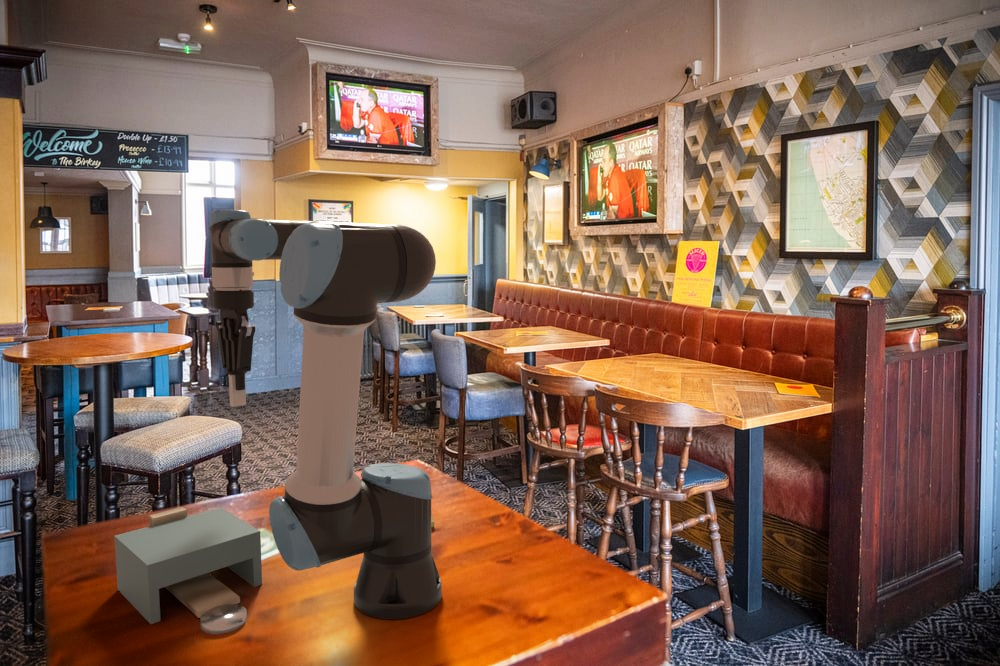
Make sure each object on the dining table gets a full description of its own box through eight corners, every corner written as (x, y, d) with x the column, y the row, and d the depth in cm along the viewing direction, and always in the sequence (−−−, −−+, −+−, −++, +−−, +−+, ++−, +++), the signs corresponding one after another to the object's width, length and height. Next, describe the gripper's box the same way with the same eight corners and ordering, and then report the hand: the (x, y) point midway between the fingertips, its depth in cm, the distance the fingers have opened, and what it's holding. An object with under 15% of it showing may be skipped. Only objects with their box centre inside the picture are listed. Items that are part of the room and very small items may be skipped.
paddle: (240, 602, 118) (237, 540, 117) (198, 618, 113) (195, 553, 112) (188, 561, 133) (185, 506, 132) (149, 573, 128) (146, 516, 127)
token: (252, 626, 112) (252, 617, 112) (206, 641, 108) (206, 631, 108) (239, 608, 117) (239, 599, 117) (195, 621, 113) (195, 612, 113)
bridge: (262, 584, 125) (260, 531, 124) (150, 624, 112) (147, 565, 110) (223, 556, 136) (221, 507, 135) (117, 589, 123) (114, 535, 122)
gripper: (266, 289, 136) (270, 407, 139) (236, 286, 145) (241, 397, 148) (229, 291, 131) (234, 413, 134) (200, 288, 140) (206, 402, 143)
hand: (238, 405), depth 141 cm, fingers closed
